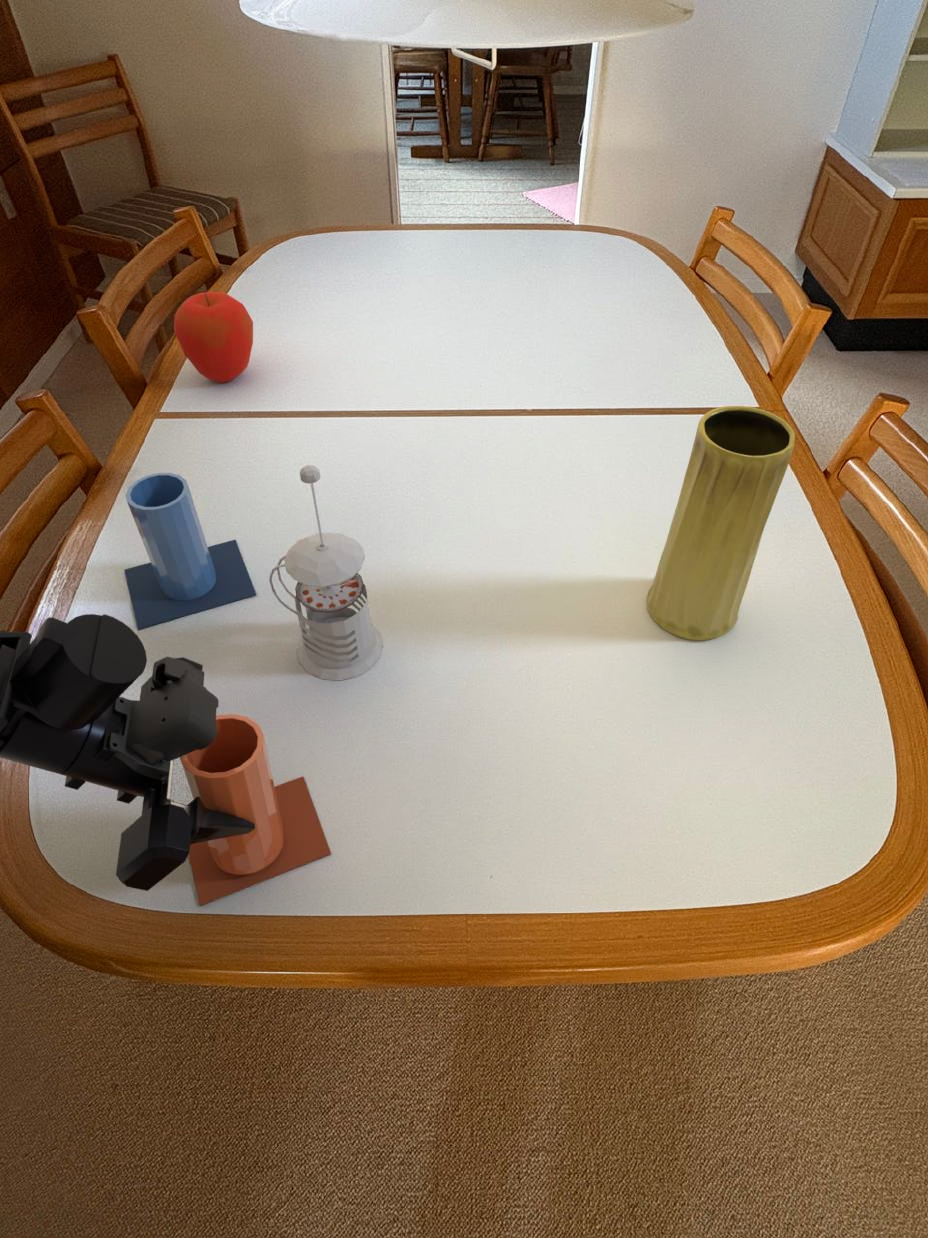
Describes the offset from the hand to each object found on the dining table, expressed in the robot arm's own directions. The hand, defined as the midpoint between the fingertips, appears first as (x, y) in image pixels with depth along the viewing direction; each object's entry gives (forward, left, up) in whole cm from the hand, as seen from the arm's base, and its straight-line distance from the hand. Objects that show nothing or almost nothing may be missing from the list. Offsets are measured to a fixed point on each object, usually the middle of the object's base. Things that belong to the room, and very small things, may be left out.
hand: (252, 792), depth 68 cm
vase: (+54, +8, -8) cm, 55 cm away
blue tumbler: (0, +37, -8) cm, 38 cm away
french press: (+13, +20, -8) cm, 25 cm away
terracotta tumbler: (-2, 0, -7) cm, 8 cm away
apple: (+15, +84, -8) cm, 86 cm away
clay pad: (-1, 0, -8) cm, 8 cm away
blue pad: (0, +37, -8) cm, 38 cm away
